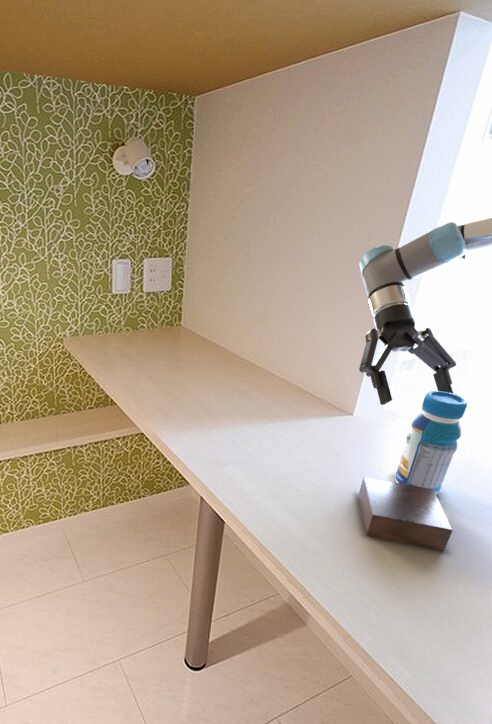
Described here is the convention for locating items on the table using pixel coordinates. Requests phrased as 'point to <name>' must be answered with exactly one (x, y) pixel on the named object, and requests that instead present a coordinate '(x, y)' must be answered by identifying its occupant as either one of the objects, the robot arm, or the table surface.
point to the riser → (403, 513)
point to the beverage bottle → (432, 441)
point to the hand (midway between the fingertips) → (417, 401)
